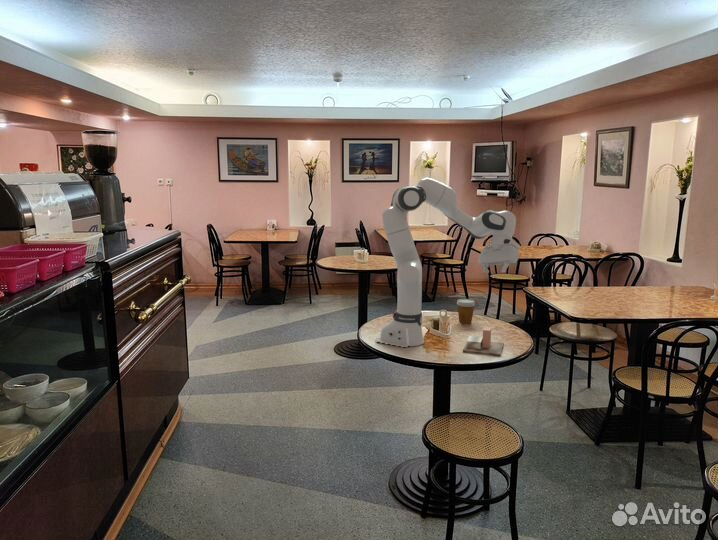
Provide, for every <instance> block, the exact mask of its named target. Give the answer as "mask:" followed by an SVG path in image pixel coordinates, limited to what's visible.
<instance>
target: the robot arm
mask: <svg viewBox="0 0 718 540" xmlns="http://www.w3.org/2000/svg"><path fill="white" fill-rule="evenodd" d="M423 203H426V204H428V205H430V206H432V207H433V208H435V209H436V210H439V211H440V212H442V214H443V215H444V217H447V218H448V219H449V220H451V221H453V222H454V223H456V224H457V225H458V226H459V227H462V228H463V229H464V230H465V231H466V232H467V233H468V234H469V235H470V236H471V237H472V238H474V239H477V240H482V239H484V238H486V237H487V236H488V235H489V234H490V235H492V239H491V243H490V245H489V246H485V247H484V248H483V249H481V252H480V253H479V256H478V260H477V263H478V265H480V266H482V267H483V273H484V274H485V275H486V274H487V275H488V274H489V273H490V270H489V266H499V265H503V266H502V267H500V273H506V270H507V269H508V268H509V266H510V265H511V264H516V263H517V262H518V261H519V256H520V249H521V245H520V244H519V243H517V242H516V241H515V240H513V236H514V235H515V230H516V224H517V217H516V215H515V214H514V213H513V212H511V211H509V210H501V211H495V210H492V209H491V210H486V211H484V212H483V213H481V214H479V215H478V216H475V217H474V216H470V215H469V214H467V213H466V212H464V211H463V210H461V209H460V208H459V206H458V203H459V196H458V193H457V192H456V190H454V189H453V188H452V187H451V186H449V185H447V184H445V183H443V182H441V181H439V180H437V179H434V178H431V177H424V178H422V179H420V180H419V181H418V182H417V185H409V186H408V185H407V186H406V185H405V186H401V187H399V188H397V189H396V190H395V191H394V193H393V195H392V199H391V203H390V206H389V207H387V208H385V209H384V210H383V212H382V214H381V215H382V224H383V228H384V232H385V236H386V240H387V242H388V246H389V249H390V252H391V254H392V256H393V259H394V261H395V265H396V268H397V271H396V285H397V300H396V301H397V304H396V305H397V307H396V309H395V311H394V312H393V313H392V318H393V319H391V320H390V321H388V322H387V323H386V324H384V325H383V326H382V329H381V330H380V331H381V332H380V334H378V335H377V336H376V338H375V342H376V341H377V342H381V343H380V344H382V343H387V344H392V345H397V346H396V347H398V346H401V347H400V348H403V347H406V348H409V347H408V346H410V347H416V346H421V345H423V344H424V343H425V340H424V334H423V328H422V325H423V312H422V300H423V299H422V298H423V297H422V296H423V295H422V294H423V292H422V291H423V288H422V287H423V284H422V283H423V266H422V262H421V260H420V257H419V253H418V251H417V247H416V245H415V241H414V238H413V235H412V232H411V231H412V230H411V228H410V225H409V223H408V217H407V216H408V213H409V212H411V211H416V210H417V209H418V208H419V207H420V206H421V205H422V204H423ZM377 342H376V343H377ZM387 344H386V345H387ZM392 345H391V346H392Z"/></svg>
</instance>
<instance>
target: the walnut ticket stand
mask: <svg viewBox="0 0 718 540" xmlns="http://www.w3.org/2000/svg"><path fill="white" fill-rule="evenodd" d="M482 344H483V336H474V335H469V336H468V337H467V339H466V343H465V345H464V347H463V348H462V353H465V352H466V354H467V353H468V354H475V355H485V356H493V357H501V356H502V352H503V348H504V342H499V341H498V342H497V341H491V345H490V348H483V347H482Z"/></svg>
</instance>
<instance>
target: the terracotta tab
mask: <svg viewBox="0 0 718 540" xmlns="http://www.w3.org/2000/svg"><path fill="white" fill-rule="evenodd" d="M482 330H483V331H482V337H483V344H482V347H483V348H490V345H491V342H492V340H491V339H492V327H490V326H484V327H483V329H482Z"/></svg>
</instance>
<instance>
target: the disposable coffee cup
mask: <svg viewBox="0 0 718 540" xmlns="http://www.w3.org/2000/svg"><path fill="white" fill-rule="evenodd" d="M456 304H457V305H456V306H457V313H458V314H457V315H458V323H459V322H460V323H462V324H461V325H464V324H468V325H471V324H472V320H473V317H474V316H473V315H474V310H475V305H476V302H475V300H473V299H470V298H460V299H457V302H456ZM460 323H459V324H460Z"/></svg>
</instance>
